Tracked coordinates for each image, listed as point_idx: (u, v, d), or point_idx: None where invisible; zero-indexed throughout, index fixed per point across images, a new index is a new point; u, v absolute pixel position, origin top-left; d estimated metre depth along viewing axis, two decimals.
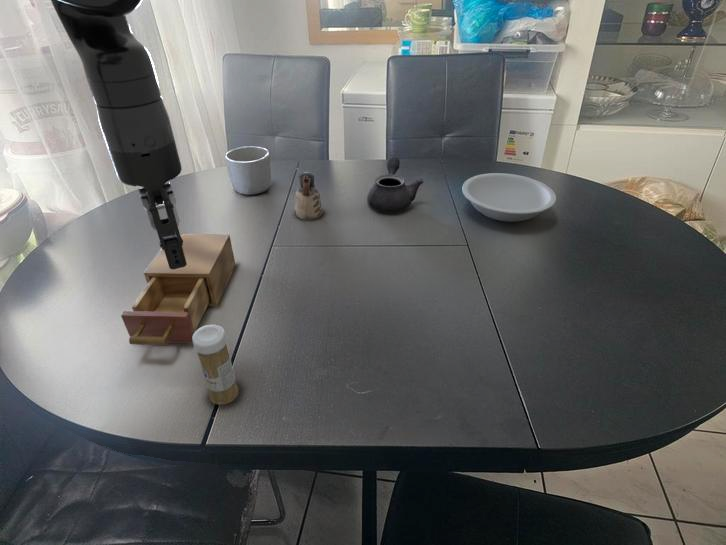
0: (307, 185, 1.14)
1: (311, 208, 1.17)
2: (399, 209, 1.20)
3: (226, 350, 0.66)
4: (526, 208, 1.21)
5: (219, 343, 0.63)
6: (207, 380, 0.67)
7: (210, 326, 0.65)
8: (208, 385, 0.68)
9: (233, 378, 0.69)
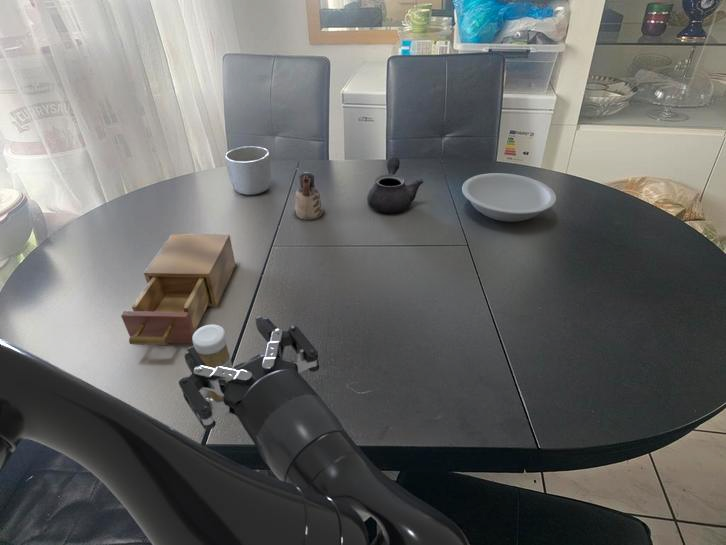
0: (307, 185, 1.14)
1: (311, 208, 1.17)
2: (399, 209, 1.20)
3: (226, 350, 0.66)
4: (526, 208, 1.21)
5: (219, 343, 0.63)
6: None
7: (210, 326, 0.65)
8: None
9: None
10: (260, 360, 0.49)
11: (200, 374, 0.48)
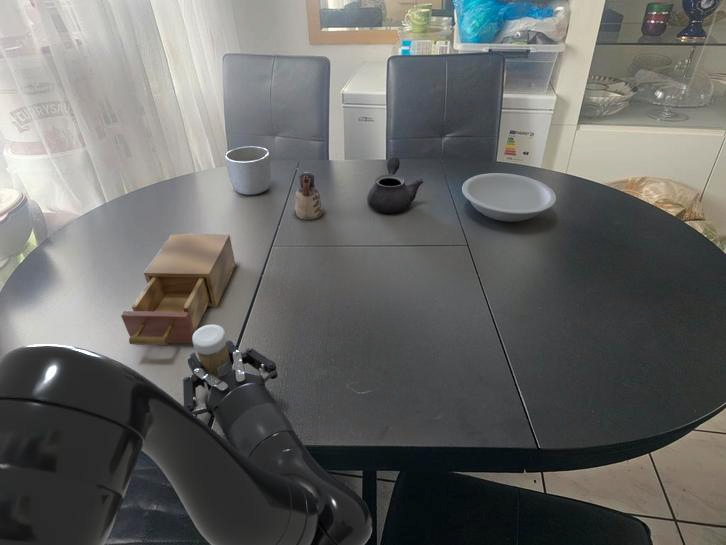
0: (307, 185, 1.14)
1: (311, 208, 1.17)
2: (399, 209, 1.20)
3: (226, 350, 0.66)
4: (526, 208, 1.21)
5: (219, 343, 0.63)
6: None
7: (210, 326, 0.65)
8: None
9: None
10: None
11: (199, 374, 0.64)
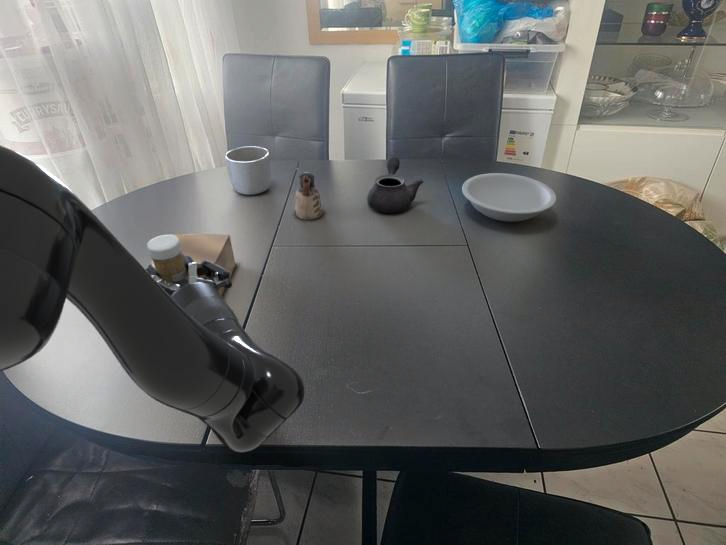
0: (307, 185, 1.14)
1: (311, 208, 1.17)
2: (399, 209, 1.20)
3: (181, 259, 0.68)
4: (526, 208, 1.21)
5: (173, 248, 0.65)
6: None
7: (166, 235, 0.67)
8: None
9: None
10: None
11: None
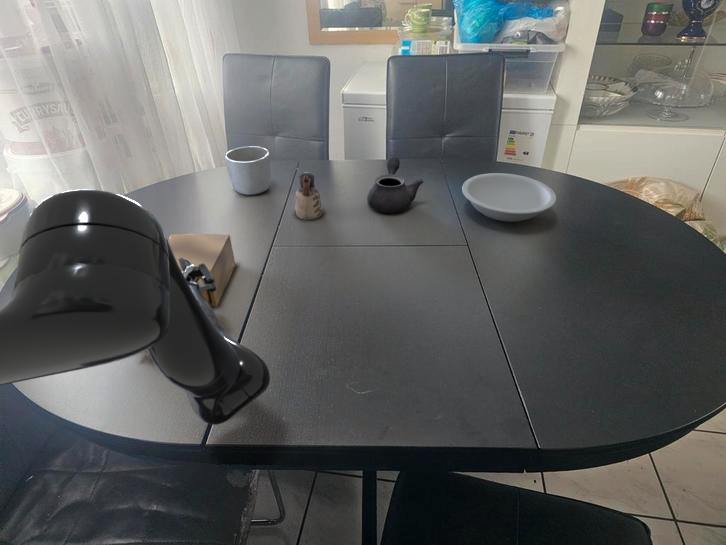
0: (307, 185, 1.14)
1: (311, 208, 1.17)
2: (399, 209, 1.20)
3: None
4: (526, 208, 1.21)
5: None
6: None
7: None
8: None
9: None
10: None
11: None
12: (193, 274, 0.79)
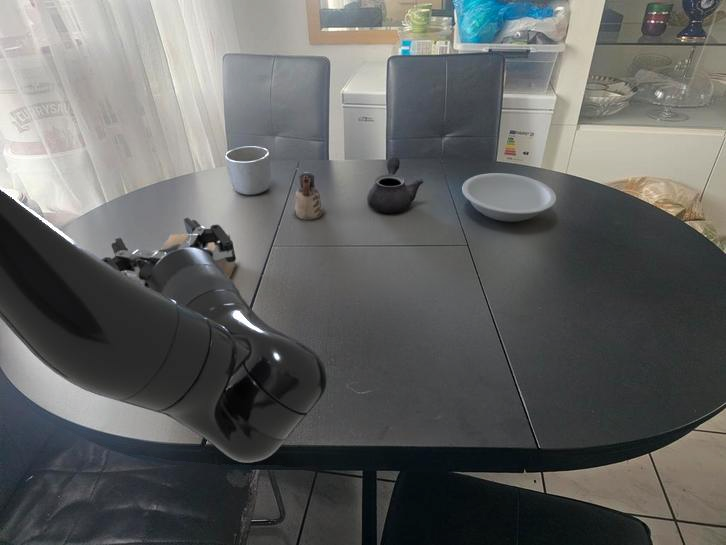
0: (307, 185, 1.14)
1: (311, 208, 1.17)
2: (399, 209, 1.20)
3: None
4: (526, 208, 1.21)
5: None
6: None
7: None
8: None
9: None
10: None
11: (121, 255, 0.52)
12: (203, 239, 0.57)
